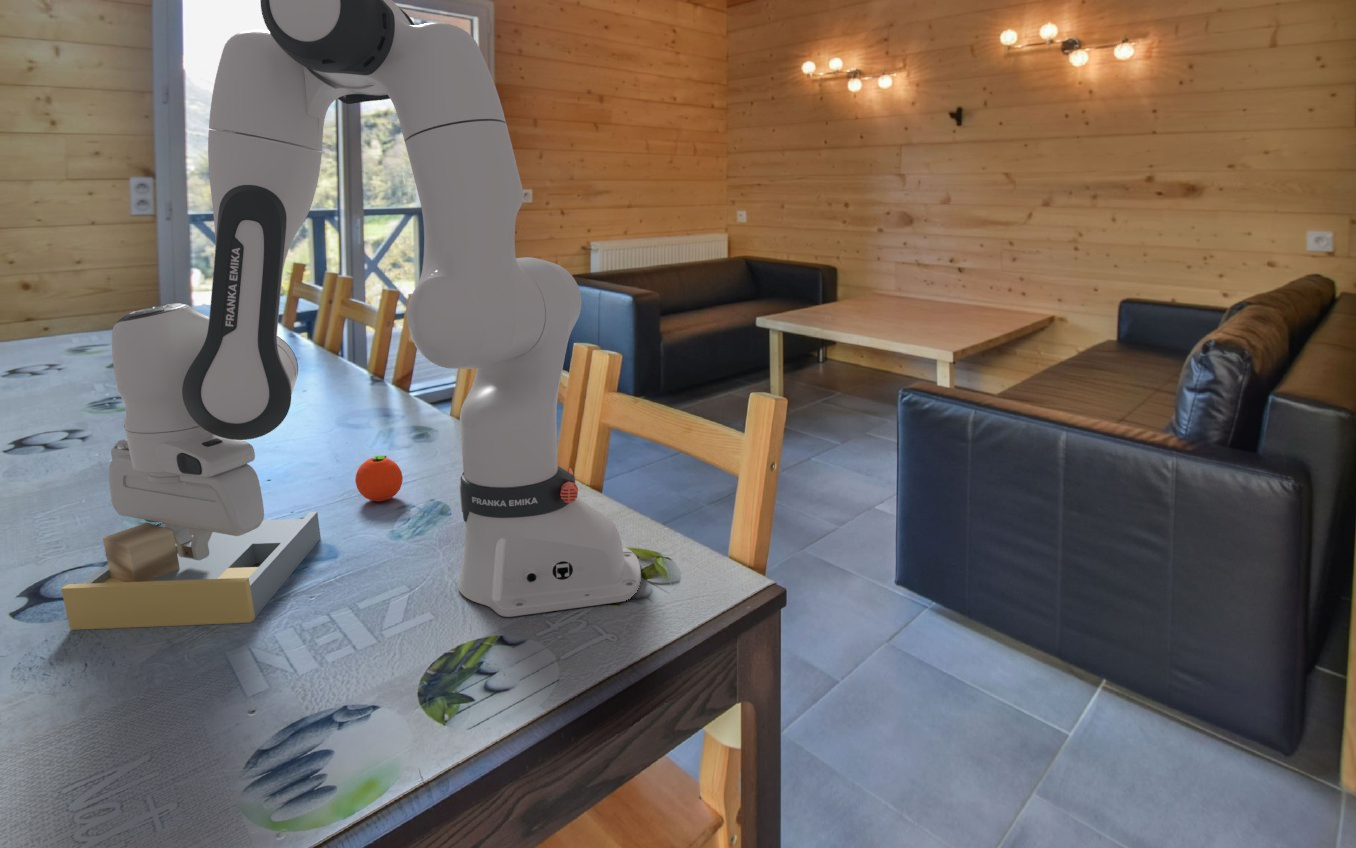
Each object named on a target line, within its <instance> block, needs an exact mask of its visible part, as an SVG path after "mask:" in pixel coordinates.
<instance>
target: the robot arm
mask: <svg viewBox="0 0 1356 848" xmlns="http://www.w3.org/2000/svg"><path fill="white" fill-rule="evenodd" d="M260 11H261V15H262V19H263V22H264V24H265V26H266V29H267V30H263V29H253V30H252V29H251V30H245V31H241V32H238V33H236V34H234V35H233V36H232V35H231V37H230V38H229V39H228V40H227V41H226V43H225V44H224V46H223V49H222V53H221V56H220V60H219V62H218V66H217V71H216V75H215V79H214V85H213V90H212V94H211V95H212V96H211V104H210V110H209V123H208V128H209V129H208V134H207V135H208V137H207V141H208V142H207V156H208V157H207V158H208V159H207V161H208V177H209V185H210V192H211V193H210V195H211V202H212V203H211V205H212V213H213V214H212V215H213V223H214V236H215V237H214V238H215V239H214V240H215V251H214V263H213V264H214V265H213V274H212V283H211V285H212V286H211V298H210V307H209V316H208V315H205V314H203V313H202V312H199V311H198V310H196V309H195V308H193V307H192V306H191V305H189V304H186V303H185V304H184V303H180V302H179V303H177V302H175V303H166V304H159V305H155V306H150V307H145V308H142V309H139V310H135V311H132V312H129V313H127V314H126V315H124V316H122V317H121V318H120V319H118V321H116V323H115V324H114V325H113V328H112V333H111V353H112V354H111V355H112V363H113V364H112V365H113V372H114V378H115V384H116V389H117V393H118V395H119V396H120V397H121V400H122V401H123V404H124V410H125V417H124V422H123V423H124V424H123V427H125V428H124V431H125V436H126V439H120V440H118V441H117V442H116V443H115V444H113V445H114V446H113V448H111V449H110V455H111V461H110V464H109V467H108V479H109V480H108V481H109V492H110V499H111V505H112V507H113V509H114V510H115V512H116V513H117V514H118V515H119V516H124V517H128V518H134V519H140V520H144V521H145V520H150V521H155V522H154V523H161V524H162V523H165V527H166V528H167V529H171V530H173V534H174V539H175V544H177V550H178V555H179V557H183V558H189V559H194V560H202V559H204V558H206V557H208V556H209V547H208V542H209V540H210V537H211V535H212V532H216V533H222V534H227V535H232V536H240V535H243V534H245V533H248V532H250V531H252V530H254V529H256V528H258V527H259V526H260V525H261V523H262V521H263V520H265V509H264V500H263V495H262V490H261V483H260V480H259V476H258V474H257V472H256V470H255V469H254V467H252V466H251V465H250V463H251V462H254V461H255V459H256V455H255V454H256V453H255V448H254V446H253V445H252V444H251V443H249V442H248V441H249V440H252V439H257V438H261V437H263V436H265V435H267V434H269V433H271V432H273V431H275V430H276V428H278V427H279V426H280V425H281V424H282V423H283V422H284V420H285V418H286V417H287V416H288V413H289V410H290V408H291V403H292V395H293V391H294V388H295V385H296V383H297V382H296V381H297V378H298V375H299V365H298V360H297V357H296V354H295V352H294V351H293V349H292V348H291V347H290V345H289V344H288V342H286V341H285V340H284V339H282V337H279V336H278V327H279V313H280V305H281V295H282V294H281V293H282V284H283V283H282V281H283V274H284V268H285V262H286V259H287V256H288V253H289V251H290V247H291V245H292V243H293V241H294V240H295V236H296V235H297V234H298V232H299V230H300V228H301V227H302V225H303V223H304V222H305V220H306V218H307V217H308V214H309V213H310V210H311V207H312V205H313V201H314V198H315V194H316V190H317V185H318V182H319V179H320V178H319V177H320V171H321V164H322V154H323V153H322V151H323V140H324V126H325V118H326V115H327V112H328V110H329V107H330V106H331V105H332V104H333V103H334V102H335V101H336V100H337V99H338V100H339V101H340V102H341V103H343V104H347V105H353V104H359V103H365V102H366V103H367V102H375V101H377V102H378V101H385V100H391V103H392V104H393V106H394V109H395V112H396V115H397V119H398V121H399V124H400V126H399V127H400V128H401V133H402V137H403V141H404V145H405V148H406V152H407V154H408V155H407V156H408V158H409V162H410V167H411V171H412V175H413V179H414V183H415V187H416V191H417V195H418V198H419V202H420V207H421V213H422V221H423V237H424V239H423V245H424V246H423V258H422V259H423V261H422V267H421V268H422V270H421V274H420V278H419V281H418V283H417V286H416V287H415V289H414V290H413V291H412V294H411V296H410V297H409V301H408V304H407V309H406V322H407V328H408V332H409V336H410V338H411V340H412V342H413V344H414V346H415V347H416V349H417V350H418V351H419V353H420V354H421V355H422V356H423V357H424V358H425V359H427V360H428V361H429V362H430V363H433V364H434V365H437V366H439V367H441V368H445V369H457V370H470V369H471V370H474V369H475V370H476V372H475V377H474V380H473V383H472V386H471V389H470V390H469V392H468V394H467V396H466V397H465V399H464V401H463V402H462V406H461V409H460V412H459V424H460V425H459V426H460V428H459V429H460V440H461V441H460V442H461V455H462V470H463V472H462V475H461V476H460V477H459V478H460V483H459V496H460V497H459V498H460V507H461V513H462V518H463V522H464V523H465V525H464V527H465V529H464V544H463V545H464V546H463V554H462V561H461V568H460V572H459V576H458V580H457V589H458V590H459V592H460V594H461V595H462V596H464V597H465V598H466V599H468V600H470V601H472V602H475V603H477V604H480V605H484V606H486V607H489V608H490V609H492V611H494V612H495V613H497V615H499V616H502V617H504V618H505V617H506V618H511V617H518V616H525V615H533V614H541V613H548V612H554V611H562V610H570V609H577V608H585V607H592V606H601V605H606V604H613V603H615V604H616V603H621V602H626V600H627V601H629V600H630V599H631V597H632V596H633V595H634V594H635V593H638V591H639V589H640V587H639V585H640V586H641V584H640V582H641V583H642V572H641V571H642V570H641V569H642V568H641V564H640V560H639V558H638V557H637V555H636V554H635V553H634V552H633V551H632V550H631V549H630V548H628V547H625V546H623V544H622V539H621V536H620V533H619V531H618V529H617V526H616V524H615V523H614V521H613V520H612V518H610V517H609V516H608V515H606V514H604V513H602V512H601V511H600V510H597V509H596V508H595V507H593V506H591V505H590V504H589V503H586V501H583V500H582V499H581V498H578V495H579V493H578V492H579V488H578V485H577V484H576V477H575V475H574V472H573V469H572V468H571V467H569V469H568V471H567V469H566V470H565V469H564V468H562V467H560V466H559V464H558V442H557V441H558V437H557V436H558V434H557V433H558V429H557V409H558V408H557V407H558V399H559V390H560V385H561V384H560V383H561V379H562V373H563V369H564V363H565V357H566V353H567V348H568V343H569V340H570V337H571V333H572V331H573V329H574V328H575V325H576V323H577V321H578V320H579V317H580V315H581V310H582V294H581V291H580V288H579V284H578V283H577V281H576V280H575V277H574V276H573V275H572V274H571V273H570V272H569V271H568V270H567V269H566V268H564V267H563V266H561V265H560V264H557V263H554V262H551V261H548V260H545V259H542V258H541V259H540V258H536V257H529V256H528V257H527V256H526V257H518V258H517V257H516V242H515V240H516V239H515V238H516V237H515V236H516V235H515V233H516V221H517V215H518V213H519V211H520V209H521V207H522V204H523V202H524V188H523V185H522V180H521V177H520V173H519V168H518V165H517V160H516V157H515V153H514V149H513V144H512V141H511V137H510V132H509V129H508V125H507V121H506V118H505V113H504V110H503V106H502V104H501V100H500V96H499V93H498V90H497V88H496V84H495V83H494V79H493V77H492V74H491V72H490V69H489V66H488V64H487V61H486V59H485V57H484V55H483V52H482V51H481V49H480V46H479V44H478V43H477V41H476V40H475V38H474V37H473V36H472V35H471V34H470V33H469V32H468V31H466V30H465V29H463V28H461V27H460V26H457V25H454V24H450V23H446V22H445V23H444V22H427V23H422V24H415V22H414V21H413V20H412V18H411V16H409V15H408V14H407V12H405V11H404V10H403V9H402V8H401V7H399V6H398V5H397V4H396V2H395V1H393V0H260ZM246 440H248V441H246ZM192 535H193V537H192ZM638 588H639V589H638ZM637 590H638V591H637ZM635 595H636V594H635ZM635 595H634V596H635ZM634 596H633V597H634ZM633 597H632V598H633ZM628 599H629V600H628Z"/></svg>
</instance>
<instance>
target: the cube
mask: <svg viewBox="0 0 1356 848" xmlns="http://www.w3.org/2000/svg"><path fill="white" fill-rule="evenodd" d="M102 542H103V545H104V546H103V547H104V552H105V556H106V560H107V564H108V566H109V571H110V576H111V578H114V579H117V580H120V581H123V582H145V581H151V580H154V579H156V578H159V577H161V576H164V575H166V574H169V573H171V572H174V571H176V570H179V569H180V567H179V562H178V556H177V551H176V545H175V539H174V534H173V530H171V529H167V528H164V527H160V526H159V525H157V524H153V523H151V522H145V523H142V524H139V525H136V526H133V527H132V526H131V527H130V528H128V529H125V530H120V531H118V532H115V533H113V534H109V535H106V536H103V537H102Z"/></svg>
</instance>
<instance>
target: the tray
mask: <svg viewBox="0 0 1356 848" xmlns="http://www.w3.org/2000/svg"><path fill="white" fill-rule="evenodd" d="M318 513H319V512H318V511H309V512H308V513H307V514H306V515H305V517H303V518H291V519H290V518H288V519H285V518H283V519H263V521H262V523H261V525H260V526H259V527H258V528H256V529H254V530H252V531H250V532H248V533H245V534H243V535H240V536H232V535H227V534H222V533H216V532H212V535H211V537H210V540H209V542H208V547H209V556H208V557H206V558H204V559H202V560H194V559H189V558H183V557H179V555H178V550H177V544H175V545H176V551H177V556H178V562H179V567H180V569H179V570H176V571H174V572H171V573H169V574H166V575H164V576H161V577H159V578H156V579H154V580H151V581H145V582H123V581H120V580H117V579H114V578H111V576H110V571H109V566H108V563H107V564H106V565H104V566H102V568H100V569H99V570H97V571H96V572H95V573H93V574H92V575H91V576H89V577H88V578H87V579H85V580H84V581H83V582H81V583H66V585H64V586H63V587H61V595H62V599H63V603H64V607H65V611H66V616H67V620H68V624H69V628H70V629H69V630H70V631H77V630H99V629H101V630H102V629H122V628H123V629H124V628H127V629H128V628H149V627H151V628H153V627H173V626H175V627H176V626H177V627H178V626H196V625H200V626H201V625H221V624H222V625H225V624H244V623H245V624H246V623H247V624H249V623H252V622H253V621H254V620H255V619H256V618H257V616H258V615H260V613H261V612H262V611H263V609H264V608H265V607H266V605H267V604H268V603H269V602H270V601H271V599H273V597H274V595H276V593H277V592H278V591H279V590H280V589H281V588H282V586H283V585H284V583H285V582H286V581H287V580H288V579H289V578H290V576H291V575H292V574H293V573H294V572H295V570H296V569H297V568H298V567H299V565H300V564H301V563H302V562H303V561H304V559H305V558H306V557H307V556H308V555H309V553H310V552H311V551H312V550H313V549H314V547H315V546H316V545H317V544H318V543H319V541H320V540H321V539H322V538H321V530H320V523H319V522H320V521H319V515H318ZM158 526H160V527H164V528H166V527H165V523H161V524H159V525H158ZM192 537H193V535H192Z"/></svg>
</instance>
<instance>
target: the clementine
mask: <svg viewBox="0 0 1356 848" xmlns="http://www.w3.org/2000/svg"><path fill="white" fill-rule="evenodd" d="M354 478H355V485H356V488H357V490H358V492H359V495H361V496H362V497H364V499H367V500H369V501H372V502H384V501H388V500H391V499H392V498H393V497H394V496H396V495H397V494H398V493H399V492H400V490H401V488H402V484H403V472H402V470H401V467H400V466H399V465H398V463H397V462H395V461H394V460H392V459H391V458H390V459H389V458H388V457H387V455H376V456H374V457H371V458H368V459H367V460H366V461H364V462H363V463H361V465H360V466H359V467H358V469H357V471H356V474H355V477H354Z"/></svg>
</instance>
